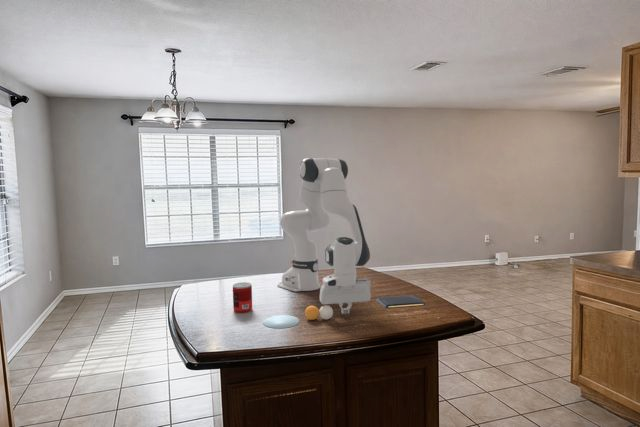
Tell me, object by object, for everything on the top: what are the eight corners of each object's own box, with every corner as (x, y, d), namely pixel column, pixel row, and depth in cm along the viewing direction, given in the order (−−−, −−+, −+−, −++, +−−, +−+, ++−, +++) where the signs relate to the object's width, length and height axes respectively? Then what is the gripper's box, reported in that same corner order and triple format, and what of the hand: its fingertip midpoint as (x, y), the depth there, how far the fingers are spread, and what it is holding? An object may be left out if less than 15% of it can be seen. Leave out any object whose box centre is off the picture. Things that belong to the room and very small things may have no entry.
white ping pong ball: (332, 301, 166) (337, 314, 167) (320, 303, 168) (325, 316, 169) (326, 308, 161) (331, 321, 162) (314, 310, 164) (319, 323, 164)
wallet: (416, 293, 195) (429, 303, 180) (416, 297, 195) (429, 307, 180) (374, 296, 192) (384, 306, 177) (374, 300, 192) (384, 310, 177)
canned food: (255, 308, 181) (254, 282, 180) (246, 314, 173) (245, 287, 172) (239, 306, 183) (238, 281, 182) (230, 312, 176) (229, 286, 175)
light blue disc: (255, 323, 162) (255, 323, 161) (279, 313, 173) (279, 313, 173) (283, 331, 153) (283, 330, 153) (306, 319, 165) (306, 319, 165)
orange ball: (302, 320, 164) (301, 306, 164) (310, 316, 169) (310, 302, 168) (313, 322, 161) (313, 308, 161) (321, 318, 166) (321, 305, 165)
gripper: (368, 275, 171) (368, 309, 172) (318, 278, 167) (319, 312, 169) (372, 279, 165) (372, 314, 166) (321, 282, 161) (321, 317, 162)
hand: (345, 313), depth 167 cm, fingers closed
